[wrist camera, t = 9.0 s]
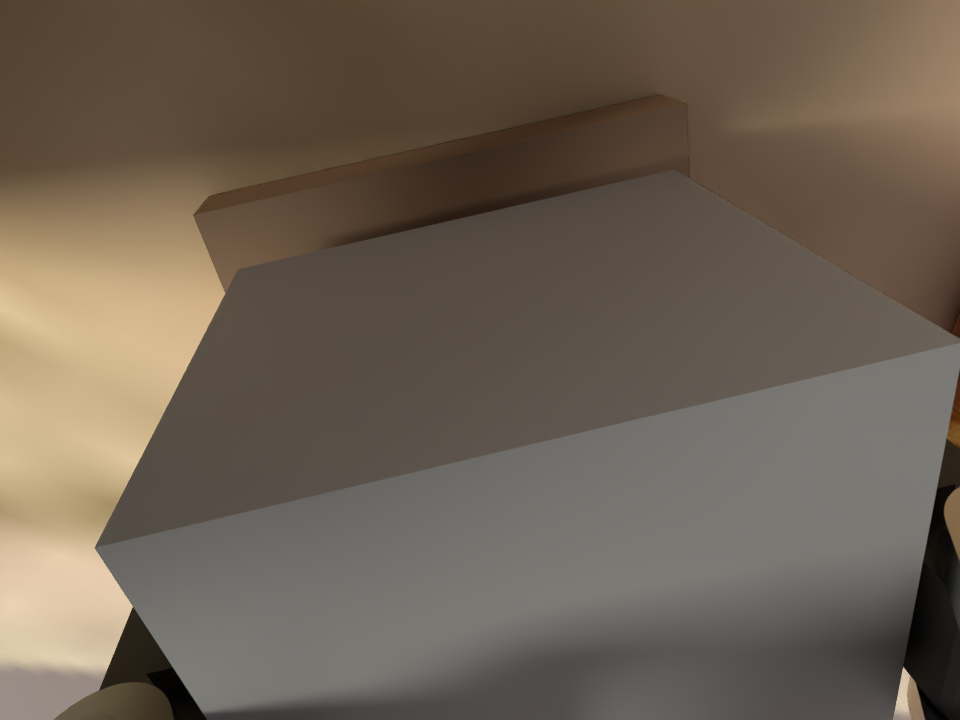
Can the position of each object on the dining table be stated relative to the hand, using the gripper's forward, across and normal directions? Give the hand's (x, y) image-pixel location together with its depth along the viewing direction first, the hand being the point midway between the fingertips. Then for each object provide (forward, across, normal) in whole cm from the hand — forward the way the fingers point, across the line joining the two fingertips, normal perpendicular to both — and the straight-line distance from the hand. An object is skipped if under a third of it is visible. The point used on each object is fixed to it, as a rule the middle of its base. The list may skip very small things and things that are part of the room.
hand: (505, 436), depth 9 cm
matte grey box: (+1, 0, 0) cm, 1 cm away
